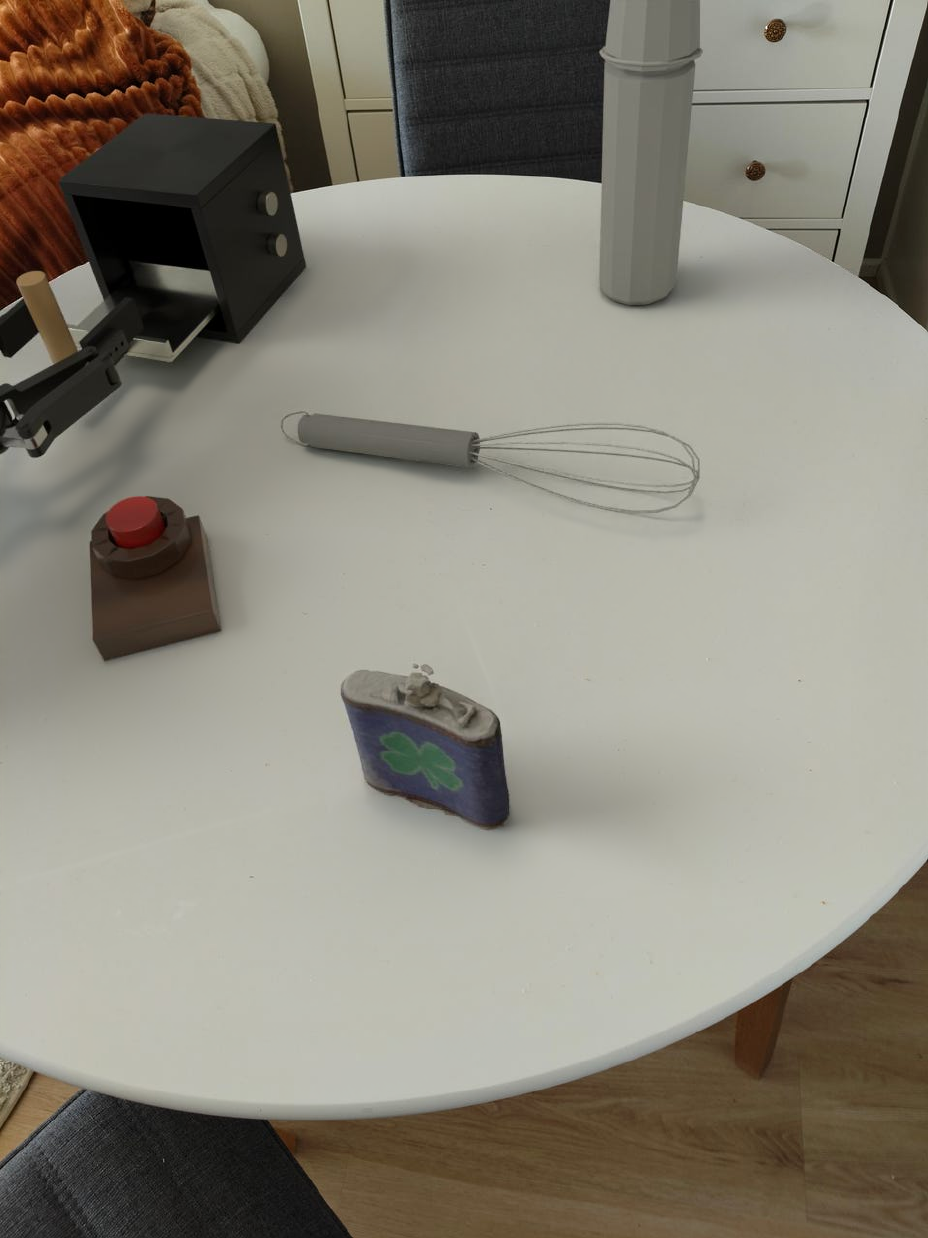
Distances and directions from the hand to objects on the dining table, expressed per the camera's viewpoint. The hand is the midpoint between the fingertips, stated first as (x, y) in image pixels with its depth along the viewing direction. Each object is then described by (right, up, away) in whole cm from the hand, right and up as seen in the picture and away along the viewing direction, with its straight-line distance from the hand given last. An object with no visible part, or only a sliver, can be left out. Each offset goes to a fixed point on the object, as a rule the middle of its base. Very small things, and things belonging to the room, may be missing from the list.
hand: (91, 306), depth 82 cm
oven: (+6, +6, +15) cm, 18 cm away
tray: (+2, -1, +6) cm, 6 cm away
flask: (+29, -36, -24) cm, 52 cm away
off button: (+8, -20, -12) cm, 25 cm away
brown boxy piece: (+9, -24, -12) cm, 28 cm away
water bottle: (+47, +5, +11) cm, 49 cm away
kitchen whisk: (+32, -15, -6) cm, 36 cm away
